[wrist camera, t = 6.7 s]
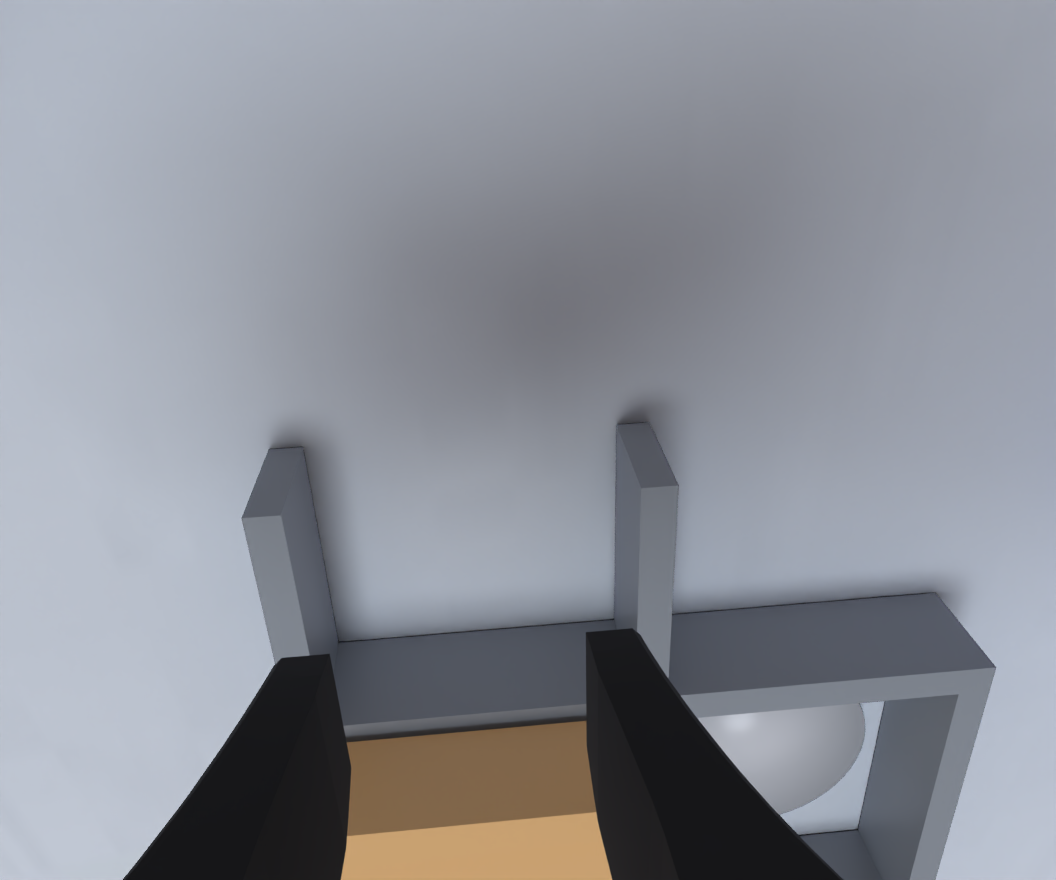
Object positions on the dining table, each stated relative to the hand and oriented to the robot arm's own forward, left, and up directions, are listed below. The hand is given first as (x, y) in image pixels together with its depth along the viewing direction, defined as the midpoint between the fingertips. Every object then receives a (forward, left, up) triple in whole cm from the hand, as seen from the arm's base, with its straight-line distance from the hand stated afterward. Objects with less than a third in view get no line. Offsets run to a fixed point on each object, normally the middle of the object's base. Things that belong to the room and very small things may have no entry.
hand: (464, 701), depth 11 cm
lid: (0, +12, -7) cm, 14 cm away
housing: (-4, +10, -10) cm, 14 cm away
